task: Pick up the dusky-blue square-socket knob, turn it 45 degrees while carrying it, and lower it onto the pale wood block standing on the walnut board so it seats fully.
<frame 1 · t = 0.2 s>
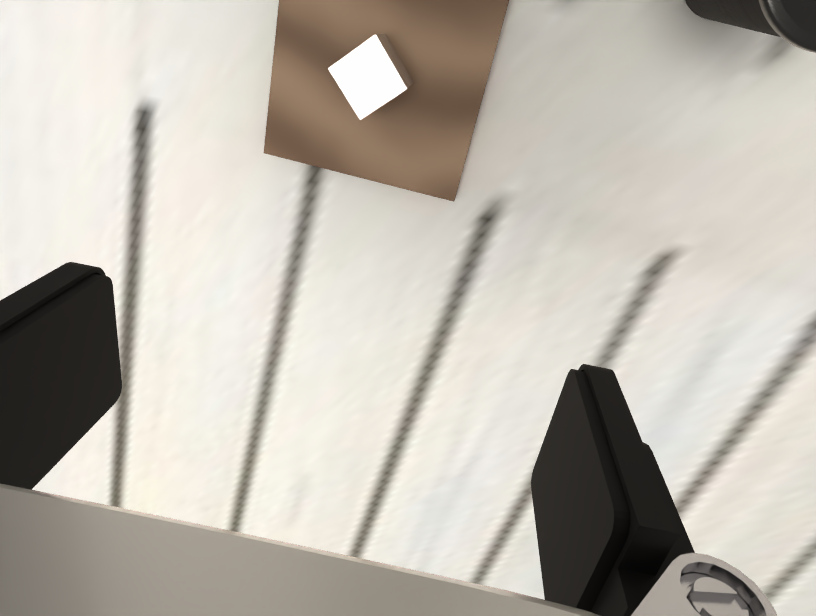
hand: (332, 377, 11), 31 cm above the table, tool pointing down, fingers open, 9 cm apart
pale wood block: (373, 76, 34), on the board, point 3 cm above the table
board: (381, 72, 37), on the table
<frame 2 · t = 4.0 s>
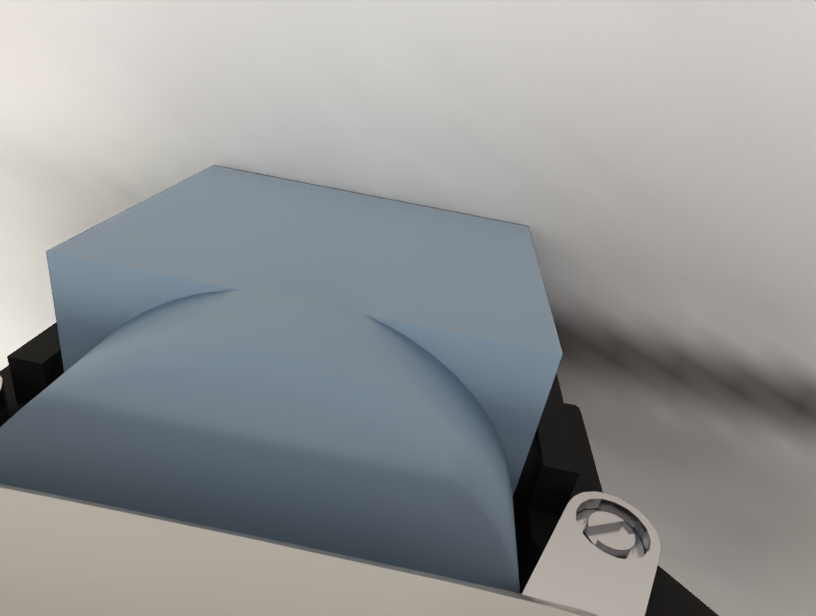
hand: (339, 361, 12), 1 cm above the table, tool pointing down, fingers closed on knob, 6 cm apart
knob: (351, 332, 13), on the table, touching gripper
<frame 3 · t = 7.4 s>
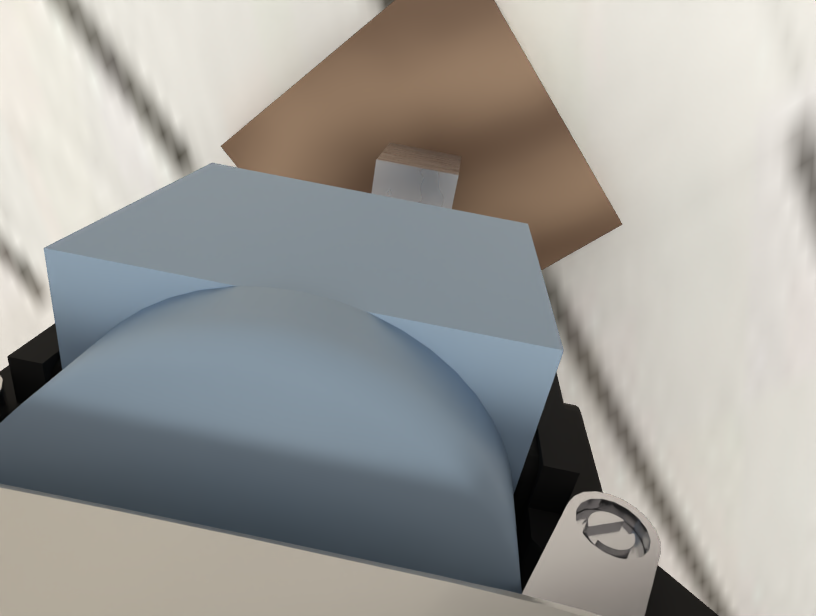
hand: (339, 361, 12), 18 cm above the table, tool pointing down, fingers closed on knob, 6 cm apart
pale wood block: (415, 195, 25), on the board, point 3 cm above the table
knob: (350, 330, 13), point 17 cm above the table, touching gripper
board: (421, 179, 28), on the table
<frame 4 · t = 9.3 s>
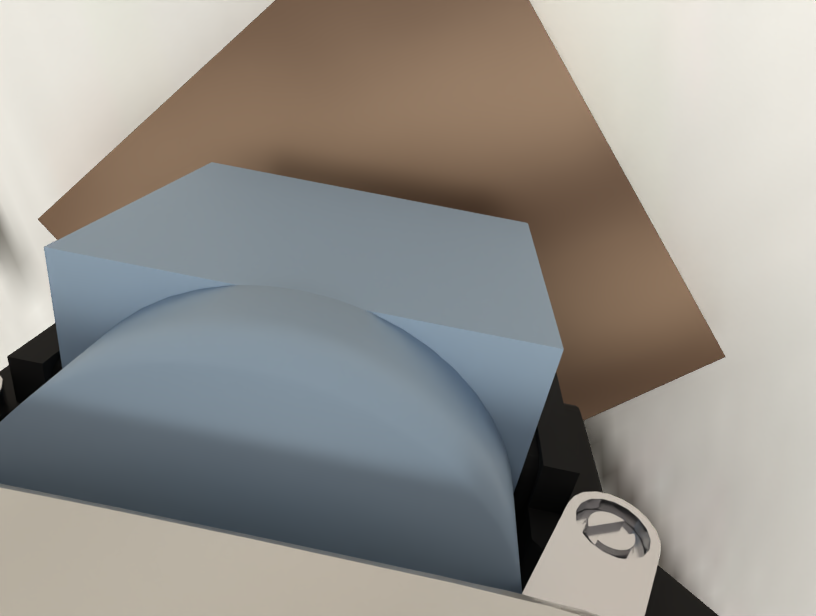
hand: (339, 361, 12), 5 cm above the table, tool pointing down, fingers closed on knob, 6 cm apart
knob: (350, 330, 13), point 4 cm above the table, touching gripper
board: (382, 270, 17), on the table
when the fingers open (3 cm above the table, at t = 11.0 s): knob stays where it is, resting on board.
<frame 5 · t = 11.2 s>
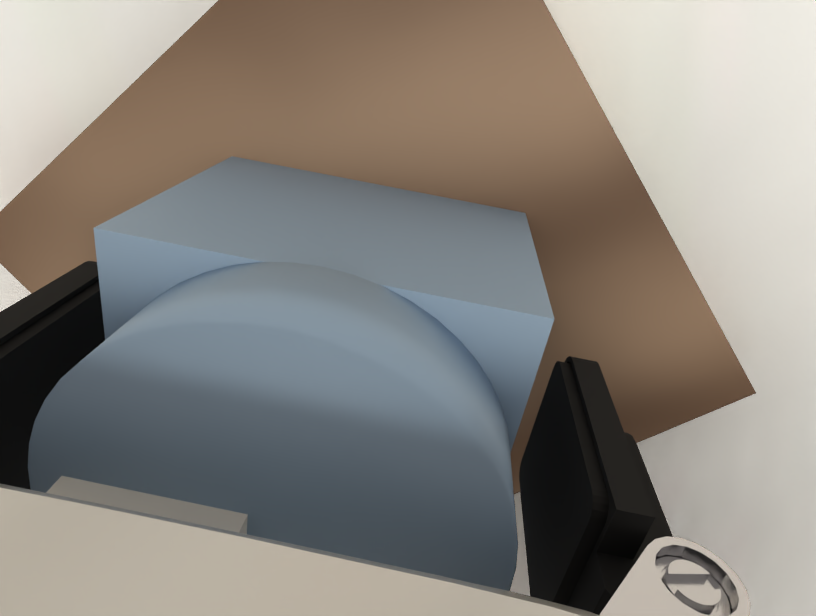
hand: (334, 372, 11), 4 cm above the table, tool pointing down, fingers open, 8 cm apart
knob: (359, 314, 14), point 1 cm above the table, touching board
board: (367, 293, 15), on the table
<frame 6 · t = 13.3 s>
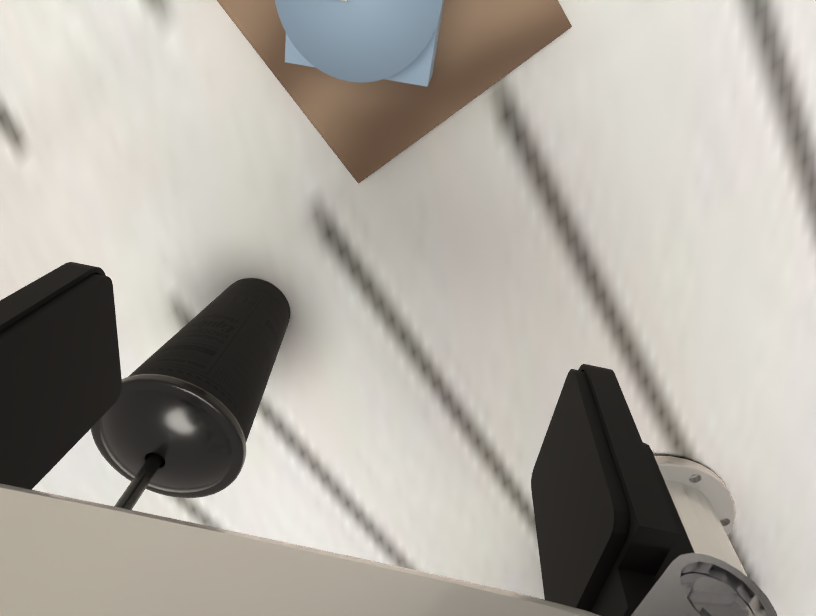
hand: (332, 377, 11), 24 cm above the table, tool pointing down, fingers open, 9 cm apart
drinking cup: (257, 307, 39), on the table
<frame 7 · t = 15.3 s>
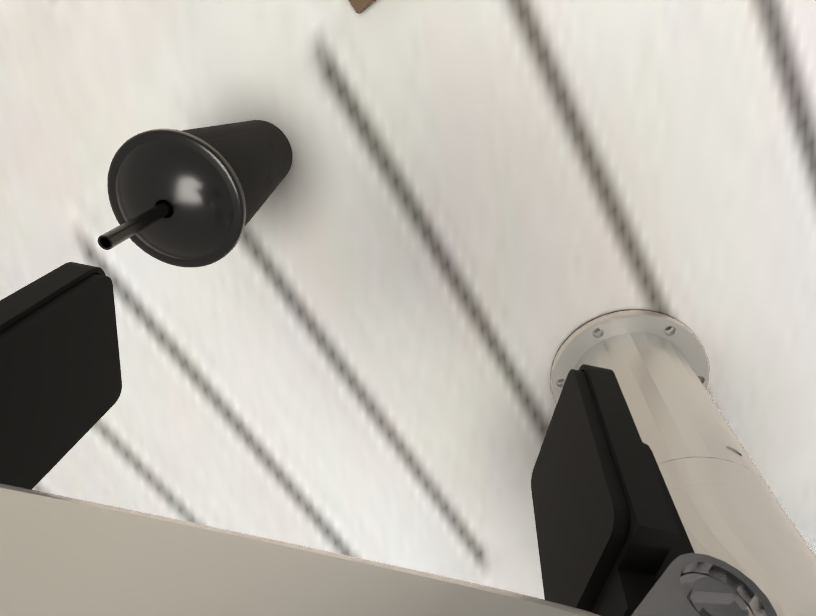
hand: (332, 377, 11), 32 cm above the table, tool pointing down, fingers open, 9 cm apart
drinking cup: (262, 153, 42), on the table
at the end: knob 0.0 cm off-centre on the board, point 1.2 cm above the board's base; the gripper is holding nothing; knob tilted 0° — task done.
